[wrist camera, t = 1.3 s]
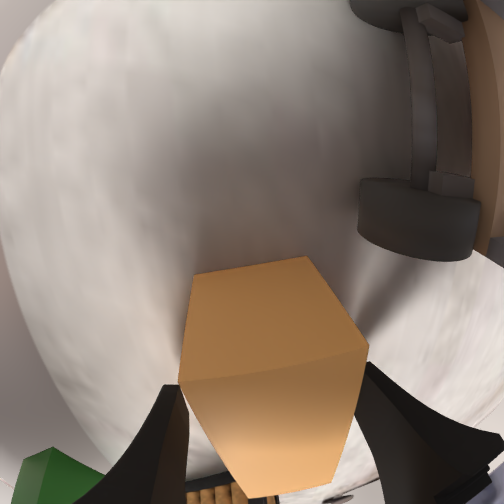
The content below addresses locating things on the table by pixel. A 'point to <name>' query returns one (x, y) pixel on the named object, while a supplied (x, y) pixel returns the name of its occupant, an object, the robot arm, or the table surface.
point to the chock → (272, 373)
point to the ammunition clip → (221, 491)
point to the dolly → (425, 138)
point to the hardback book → (53, 479)
